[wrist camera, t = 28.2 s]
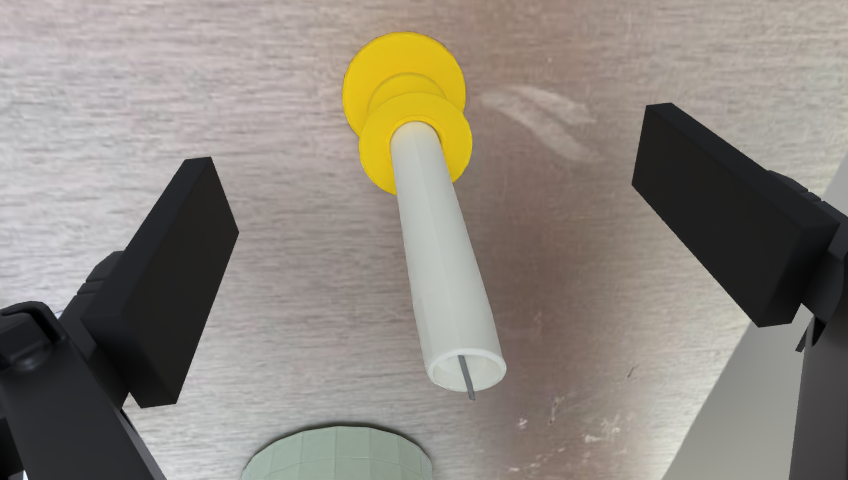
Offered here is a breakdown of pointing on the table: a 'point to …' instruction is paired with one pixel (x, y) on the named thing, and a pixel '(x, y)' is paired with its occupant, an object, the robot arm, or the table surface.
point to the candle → (427, 196)
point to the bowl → (340, 457)
